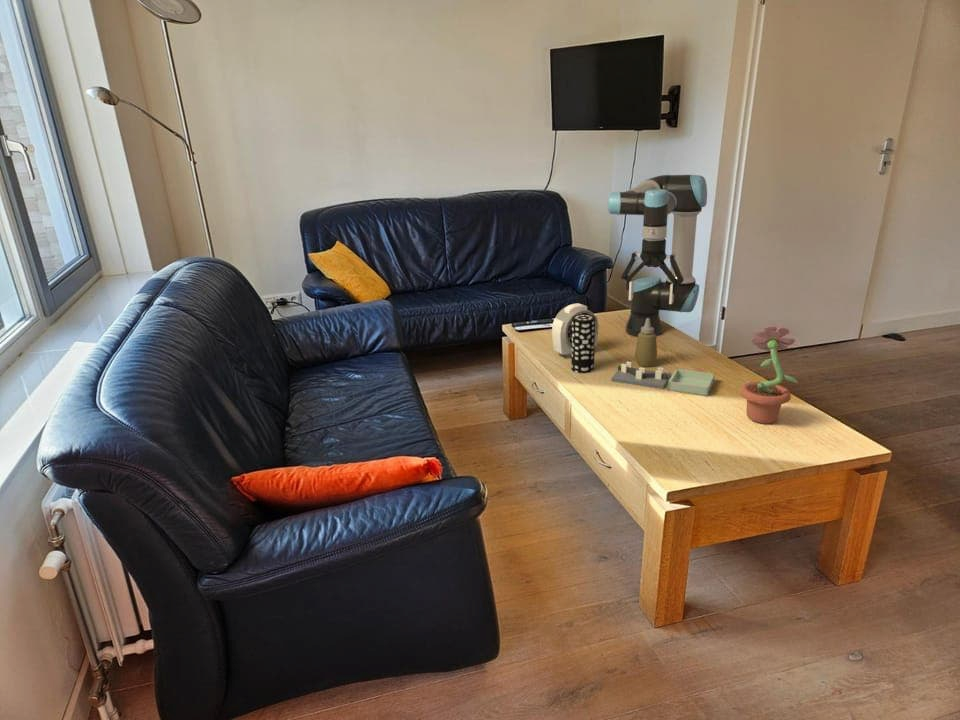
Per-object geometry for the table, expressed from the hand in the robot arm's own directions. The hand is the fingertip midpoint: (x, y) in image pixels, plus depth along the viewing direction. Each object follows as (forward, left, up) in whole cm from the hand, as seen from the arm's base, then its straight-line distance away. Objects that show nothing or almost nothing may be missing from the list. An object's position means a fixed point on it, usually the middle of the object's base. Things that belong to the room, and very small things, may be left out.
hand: (650, 301), depth 212 cm
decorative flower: (+19, +40, -28) cm, 52 cm away
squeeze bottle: (-12, -3, -28) cm, 31 cm away
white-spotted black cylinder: (+1, -23, -28) cm, 37 cm away
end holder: (+2, +16, -28) cm, 32 cm away
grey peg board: (+2, -1, -28) cm, 28 cm away
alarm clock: (-13, -31, -28) cm, 44 cm away
